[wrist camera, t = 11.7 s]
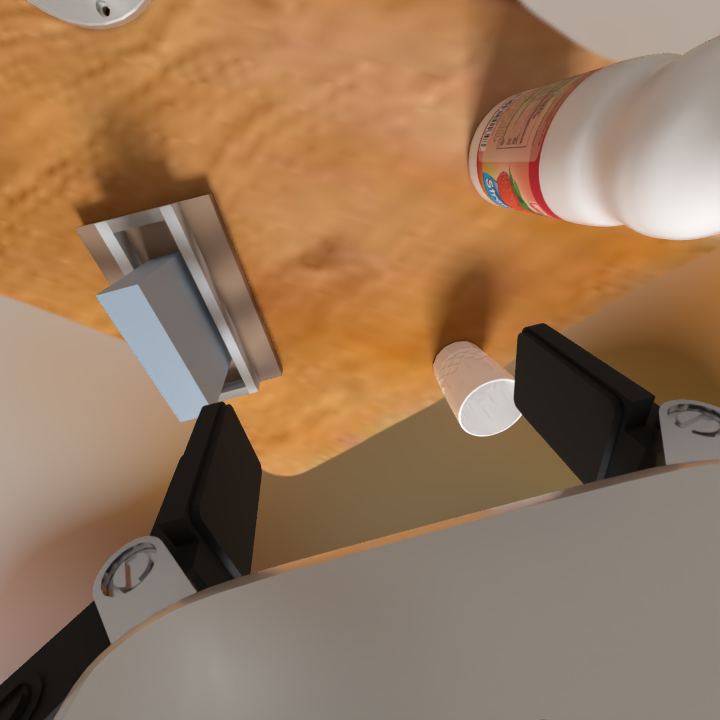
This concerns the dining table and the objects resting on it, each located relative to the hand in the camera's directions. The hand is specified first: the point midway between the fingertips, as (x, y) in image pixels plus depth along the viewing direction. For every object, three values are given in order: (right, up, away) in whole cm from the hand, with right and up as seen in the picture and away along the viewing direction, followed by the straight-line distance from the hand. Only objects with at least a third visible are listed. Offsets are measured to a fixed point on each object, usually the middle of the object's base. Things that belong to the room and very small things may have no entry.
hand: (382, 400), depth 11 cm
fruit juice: (+14, +22, +23) cm, 35 cm away
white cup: (+12, +1, +35) cm, 37 cm away
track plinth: (-18, +7, +26) cm, 32 cm away
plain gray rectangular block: (-18, +6, +24) cm, 31 cm away
